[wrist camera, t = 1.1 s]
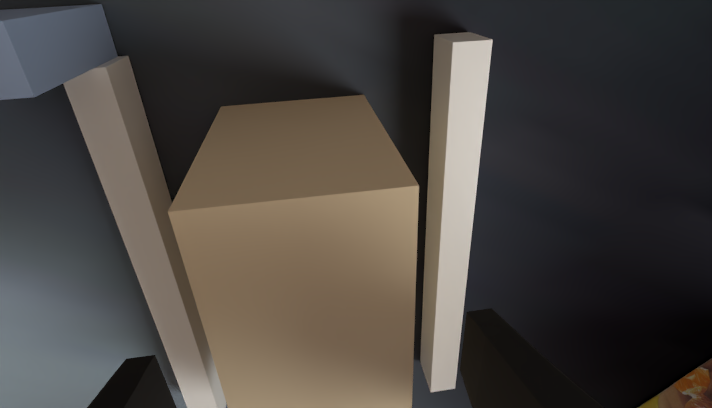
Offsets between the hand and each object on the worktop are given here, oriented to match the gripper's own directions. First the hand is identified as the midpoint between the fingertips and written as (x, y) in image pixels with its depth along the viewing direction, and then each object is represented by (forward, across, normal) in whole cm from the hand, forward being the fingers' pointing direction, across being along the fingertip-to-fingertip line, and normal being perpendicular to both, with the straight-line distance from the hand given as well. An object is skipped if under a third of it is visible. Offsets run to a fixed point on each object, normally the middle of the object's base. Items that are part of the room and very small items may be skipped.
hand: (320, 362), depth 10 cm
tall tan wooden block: (+5, 0, 0) cm, 5 cm away
